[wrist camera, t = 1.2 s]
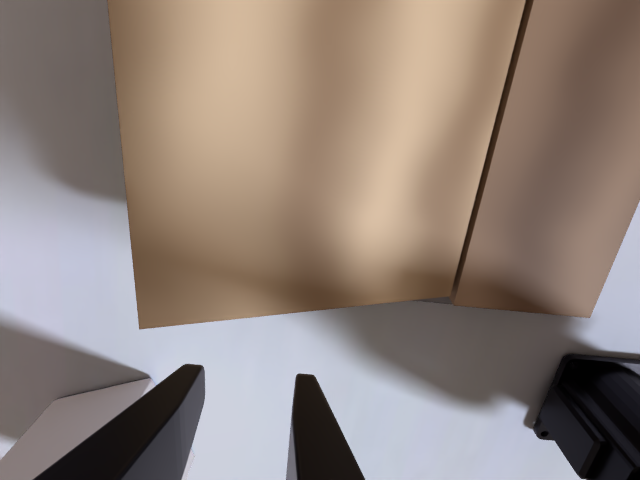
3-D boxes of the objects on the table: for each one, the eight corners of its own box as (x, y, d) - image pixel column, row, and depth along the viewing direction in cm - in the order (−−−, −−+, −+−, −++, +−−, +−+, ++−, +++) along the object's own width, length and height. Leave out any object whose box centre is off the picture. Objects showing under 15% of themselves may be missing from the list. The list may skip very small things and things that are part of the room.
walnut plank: (727, -115, 14) (786, -145, 12) (567, 298, 21) (589, 317, 19) (546, -137, 14) (578, -171, 12) (442, 287, 20) (453, 305, 19)
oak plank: (520, -125, 14) (564, -151, 12) (428, 279, 20) (450, 296, 18) (89, -295, 9) (71, -373, 8) (143, 303, 15) (139, 329, 14)
